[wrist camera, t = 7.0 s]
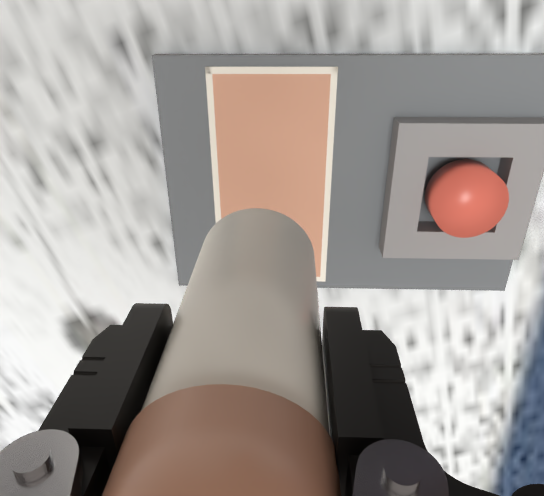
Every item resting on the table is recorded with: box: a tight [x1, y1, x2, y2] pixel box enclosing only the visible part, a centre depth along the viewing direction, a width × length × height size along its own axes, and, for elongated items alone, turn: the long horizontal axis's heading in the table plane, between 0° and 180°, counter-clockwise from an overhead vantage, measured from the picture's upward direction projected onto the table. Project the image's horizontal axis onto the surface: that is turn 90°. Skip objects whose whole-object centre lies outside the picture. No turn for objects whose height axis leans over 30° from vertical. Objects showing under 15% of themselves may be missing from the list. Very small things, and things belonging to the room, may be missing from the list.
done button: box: [425, 159, 509, 238], centre depth 29 cm, size 4×4×2 cm
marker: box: [102, 208, 341, 496], centre depth 10 cm, size 4×4×10 cm
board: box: [152, 54, 544, 291], centre depth 30 cm, size 24×16×2 cm, turn 90°
